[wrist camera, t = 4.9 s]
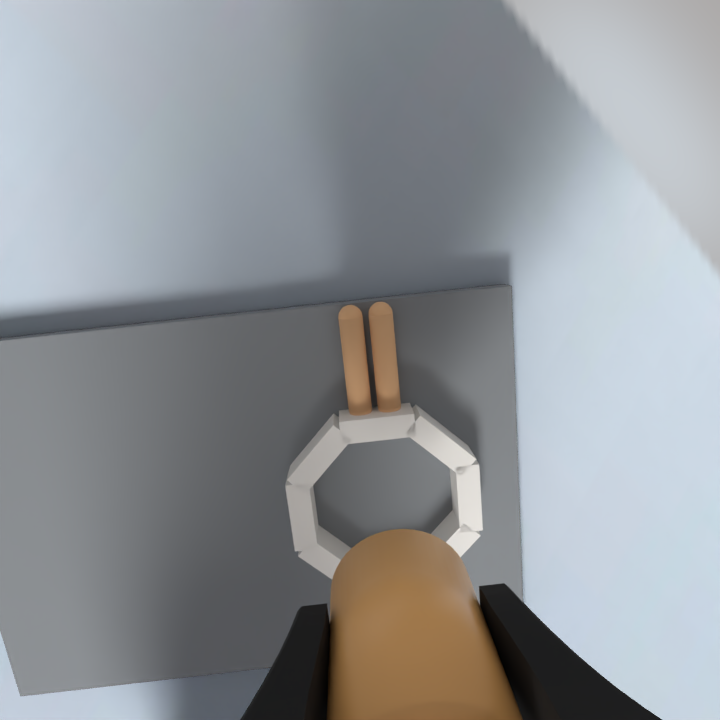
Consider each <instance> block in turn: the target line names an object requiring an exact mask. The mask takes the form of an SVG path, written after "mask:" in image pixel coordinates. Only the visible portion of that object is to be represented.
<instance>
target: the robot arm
mask: <svg viewBox="0 0 720 720" xmlns="http://www.w3.org/2000/svg"><path fill="white" fill-rule="evenodd" d="M479 596H480V607H481V609H482V612H483V615H484V617H485V620H486V623H487V625H488V628H489V631H490V633H491V636H492V639H493V641H494V644H495V647H496V649H497V652H498V655H499V657H500V660H501V663H502V665H503V668H504V671H505V673H506V676H507V679H508V681H509V684H510V687H511V689H512V692H513V694H514V697H515V700H516V702H517V705H518V708H519V710H520V713H521V716H522V718H523V720H662V719H660V718H659V717H657V716H656V715H654V714H653V713H651V712H650V711H648V710H647V709H645V708H644V707H642V706H641V705H640V704H638V703H637V702H636V701H634V700H633V699H631V698H630V697H629V696H627V695H626V694H625V693H623V692H622V691H621V690H619V689H618V688H617V687H615V686H614V685H613V684H611V683H610V682H609V681H608V680H606V679H605V678H604V677H603V676H601V675H600V674H599V673H598V672H597V671H596V670H594V669H593V668H592V667H591V666H590V665H588V664H587V663H586V662H585V661H584V660H583V659H581V658H580V657H579V656H578V655H577V654H576V653H575V652H574V651H572V650H571V649H570V648H569V647H568V646H567V645H566V644H565V643H564V642H563V641H562V640H561V639H560V638H559V637H557V636H556V635H555V634H554V633H553V632H552V631H551V630H550V629H549V628H548V627H547V626H546V625H545V624H544V623H543V622H542V621H541V620H540V619H539V618H538V617H537V616H536V615H535V614H534V613H533V612H532V611H531V610H530V609H529V608H528V607H527V606H526V605H525V604H524V603H523V602H522V601H521V599H520V598H519V597H518V596H517V595H516V594H515V593H514V592H513V591H512V590H511V589H510V588H509V587H508V586H507V585H506V584H505V583H502V584H493V585H484V586H479ZM329 637H330V622H329V614H328V607H327V603H325V604H317V605H308V606H301V607H300V609H299V610H298V611H297V613H296V616H295V619H294V621H293V624H292V626H291V628H290V631H289V633H288V635H287V637H286V639H285V641H284V643H283V646H282V648H281V650H280V652H279V654H278V656H277V657H276V659H275V661H274V663H273V665H272V667H271V669H270V671H269V673H268V675H267V676H266V678H265V680H264V682H263V684H262V685H261V687H260V689H259V690H258V692H257V694H256V695H255V697H254V699H253V700H252V702H251V704H250V705H249V707H248V709H247V710H246V712H245V713H244V715H243V717H242V718H241V720H327V696H328V666H329Z"/></svg>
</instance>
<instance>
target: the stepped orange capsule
mask: <svg viewBox="0 0 720 720" xmlns="http://www.w3.org/2000/svg"><path fill="white" fill-rule="evenodd" d="M327 720H523V718H522V716H521V713H520V710H519V708H518V705H517V702H516V700H515V697H514V694H513V692H512V689H511V687H510V684H509V681H508V679H507V676H506V673H505V671H504V668H503V665H502V663H501V660H500V657H499V655H498V652H497V649H496V647H495V644H494V641H493V639H492V636H491V633H490V631H489V628H488V625H487V623H486V620H485V617H484V615H483V612H482V609H481V607H480V604H479V602H478V599H477V596H476V594H475V591H474V588H473V586H472V583H471V580H470V578H469V575H468V572H467V570H466V567H465V565H464V563H463V561H462V559H461V558H460V556H459V555H458V554H457V552H456V551H455V550H454V549H453V548H452V547H451V546H450V545H448V544H447V543H446V542H445V541H443V540H441V539H440V538H438V537H436V536H434V535H432V534H429V533H426V532H423V531H418V530H413V529H394V530H388V531H383V532H380V533H376V534H374V535H372V536H369V537H367V538H365V539H364V540H362V541H360V542H359V543H357V544H356V545H355V546H354V547H352V548H351V549H350V550H349V551H348V552H347V553H346V554H345V556H344V557H343V558H342V559H341V561H340V563H339V564H338V566H337V568H336V570H335V573H334V575H333V579H332V583H331V597H330V637H329V666H328V696H327Z"/></svg>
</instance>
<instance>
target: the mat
mask: <svg viewBox="0 0 720 720" xmlns="http://www.w3.org/2000/svg"><path fill="white" fill-rule="evenodd" d="M394 529H413V530H418V531H423V532H426V533H429V534H432V535H434V536H436V537H438V538H440V539H441V540H443V541H445V542H446V543H447V544H448V545H450V546H451V547H452V548H453V549H454V550H455V551H456V552H457V554H458V555H459V556H460V558H461V559H462V561H463V563H464V565H465V567H466V570H467V572H468V575H469V578H470V580H471V583H472V586H473V588H474V591H475V594H476V596H477V599H478V602H479V604H480V596H479V586H484V585H493V584H502V583H505V584H506V585H507V586H508V587H509V588H510V589H511V590H512V591H513V592H514V593H515V594H516V595H517V596H518V597H519V598H520V599H521V601H522V602H523V589H522V561H521V534H520V506H519V478H518V450H517V422H516V394H515V367H514V339H513V311H512V286H509V285H506V284H500V285H491V286H482V287H472V288H463V289H454V290H444V291H435V292H426V293H416V294H407V295H398V296H388V297H379V298H370V299H361V300H351V301H342V302H333V303H323V304H314V305H305V306H295V307H286V308H277V309H267V310H258V311H249V312H239V313H230V314H221V315H211V316H202V317H193V318H183V319H174V320H165V321H155V322H146V323H137V324H127V325H118V326H109V327H99V328H90V329H81V330H71V331H62V332H53V333H43V334H34V335H25V336H15V337H6V338H0V631H1V634H2V638H3V641H4V644H5V647H6V651H7V654H8V657H9V660H10V664H11V667H12V670H13V674H14V677H15V680H16V683H17V687H18V690H19V693H20V696H28V695H37V694H45V693H54V692H63V691H71V690H80V689H89V688H97V687H106V686H115V685H123V684H132V683H141V682H149V681H158V680H167V679H176V678H184V677H193V676H202V675H210V674H219V673H228V672H236V671H245V670H254V669H262V668H271V667H272V665H273V663H274V661H275V659H276V657H277V656H278V654H279V652H280V650H281V648H282V646H283V643H284V641H285V639H286V637H287V635H288V633H289V631H290V628H291V626H292V624H293V621H294V619H295V616H296V613H297V611H298V610H299V609H300V607H301V606H308V605H317V604H325V603H327V607H328V614H329V622H330V597H331V583H332V579H333V575H334V573H335V570H336V568H337V566H338V564H339V563H340V561H341V559H342V558H343V557H344V556H345V554H346V553H347V552H348V551H349V550H350V549H351V548H352V547H354V546H355V545H356V544H357V543H359V542H360V541H362V540H364V539H365V538H367V537H369V536H372V535H374V534H376V533H380V532H383V531H388V530H394Z"/></svg>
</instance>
